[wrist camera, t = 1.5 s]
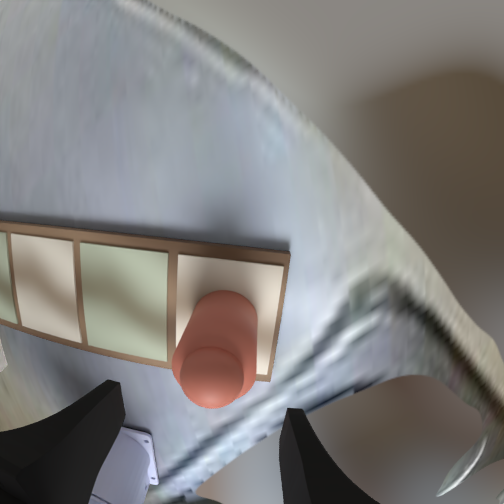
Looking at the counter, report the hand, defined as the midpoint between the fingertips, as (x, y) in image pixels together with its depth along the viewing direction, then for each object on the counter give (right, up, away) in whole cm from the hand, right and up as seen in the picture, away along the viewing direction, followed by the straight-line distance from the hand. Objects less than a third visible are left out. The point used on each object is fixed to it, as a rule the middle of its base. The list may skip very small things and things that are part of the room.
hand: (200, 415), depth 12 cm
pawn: (0, +2, +9) cm, 10 cm away
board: (-11, +4, +10) cm, 15 cm away
